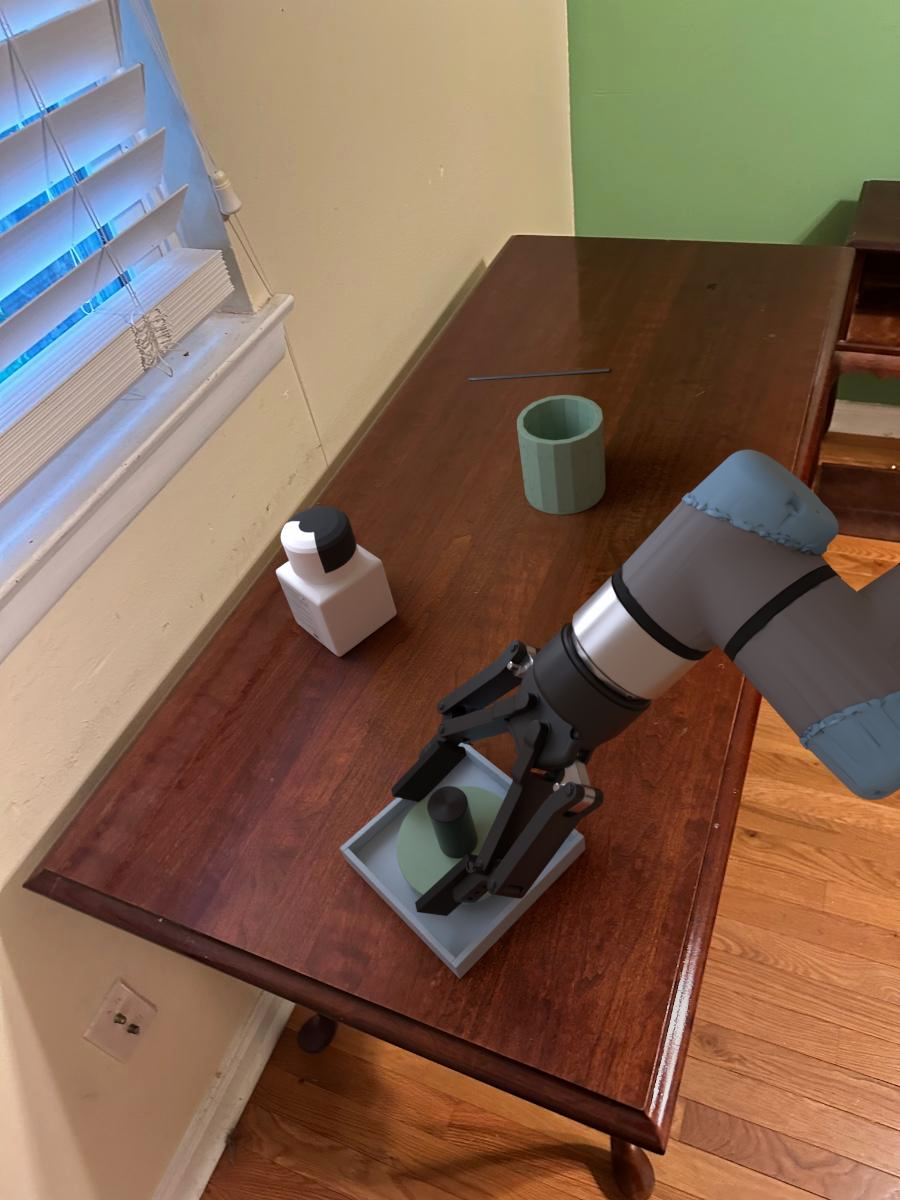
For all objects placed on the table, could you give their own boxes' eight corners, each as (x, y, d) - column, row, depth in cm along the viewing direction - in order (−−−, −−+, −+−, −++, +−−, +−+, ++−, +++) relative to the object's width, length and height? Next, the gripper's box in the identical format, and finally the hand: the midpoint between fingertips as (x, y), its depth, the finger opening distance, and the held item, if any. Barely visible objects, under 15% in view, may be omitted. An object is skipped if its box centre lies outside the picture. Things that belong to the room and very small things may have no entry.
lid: (549, 844, 65) (542, 798, 61) (458, 936, 62) (443, 895, 57) (462, 772, 71) (450, 725, 66) (374, 852, 67) (354, 808, 63)
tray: (585, 849, 66) (584, 836, 64) (459, 979, 60) (455, 968, 59) (465, 753, 74) (462, 739, 72) (345, 860, 68) (339, 847, 67)
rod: (610, 374, 113) (610, 370, 112) (469, 383, 117) (468, 379, 116) (610, 371, 113) (610, 367, 112) (470, 380, 117) (469, 376, 117)
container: (353, 582, 91) (321, 486, 82) (398, 615, 87) (370, 517, 78) (295, 623, 88) (256, 528, 79) (339, 659, 84) (303, 563, 74)
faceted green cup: (621, 483, 96) (620, 411, 89) (568, 525, 92) (562, 454, 86) (561, 456, 101) (556, 386, 94) (509, 494, 98) (499, 425, 91)
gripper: (725, 813, 49) (492, 995, 59) (594, 568, 64) (427, 746, 75) (637, 789, 45) (403, 988, 55) (520, 534, 60) (355, 727, 71)
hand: (417, 849), depth 65 cm, fingers closed on lid, 9 cm apart
